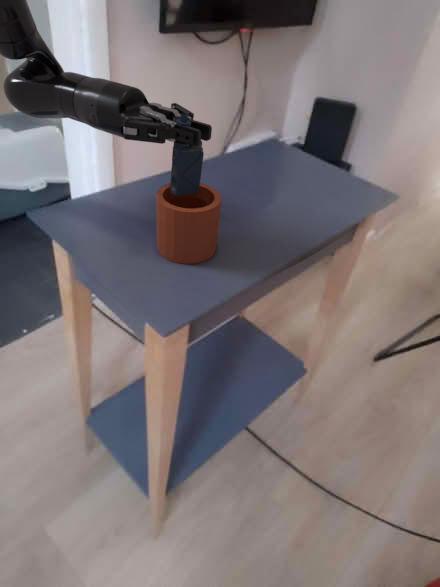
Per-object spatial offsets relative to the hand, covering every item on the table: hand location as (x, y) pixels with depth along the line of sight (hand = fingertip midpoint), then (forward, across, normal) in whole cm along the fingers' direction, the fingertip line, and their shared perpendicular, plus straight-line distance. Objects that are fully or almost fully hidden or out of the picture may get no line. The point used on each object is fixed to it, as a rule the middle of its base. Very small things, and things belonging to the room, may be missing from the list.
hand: (204, 135), depth 57 cm
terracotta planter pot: (-2, 0, +20) cm, 20 cm away
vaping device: (-3, 0, +10) cm, 11 cm away
